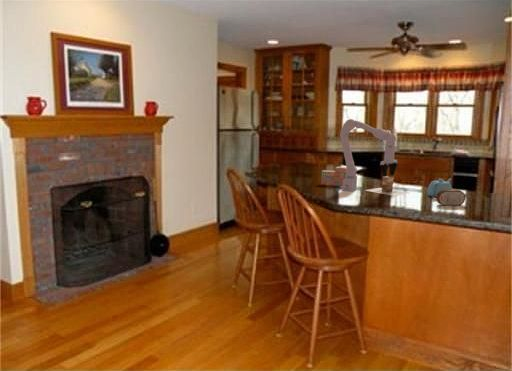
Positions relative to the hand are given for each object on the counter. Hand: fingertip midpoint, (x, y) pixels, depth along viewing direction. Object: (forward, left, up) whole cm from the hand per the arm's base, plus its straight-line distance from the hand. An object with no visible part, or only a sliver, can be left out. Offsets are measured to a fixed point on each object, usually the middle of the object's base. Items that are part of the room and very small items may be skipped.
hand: (388, 175), depth 268 cm
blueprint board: (0, 0, -10) cm, 10 cm away
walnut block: (0, 0, -10) cm, 10 cm away
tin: (-14, -39, -11) cm, 43 cm away
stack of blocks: (+5, +35, -11) cm, 37 cm away
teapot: (+7, -29, -11) cm, 32 cm away
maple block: (0, 0, -5) cm, 5 cm away
